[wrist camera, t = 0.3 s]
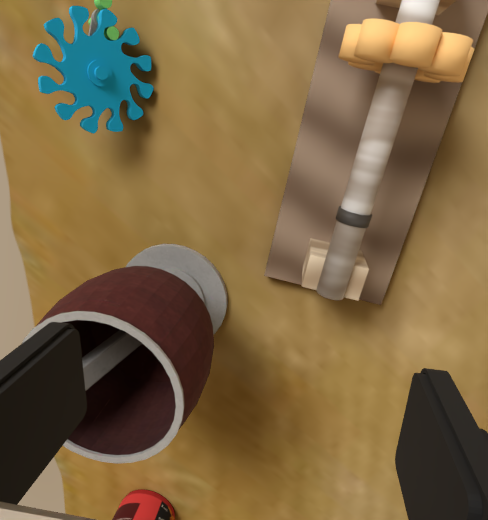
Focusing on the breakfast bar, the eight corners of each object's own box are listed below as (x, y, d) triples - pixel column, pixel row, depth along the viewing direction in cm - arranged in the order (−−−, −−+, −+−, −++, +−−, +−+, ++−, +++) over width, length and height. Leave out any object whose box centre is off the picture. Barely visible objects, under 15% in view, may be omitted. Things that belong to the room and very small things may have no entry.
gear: (144, 147, 38) (27, 116, 32) (121, 139, 42) (15, 111, 36) (170, 23, 36) (49, -38, 29) (143, 28, 40) (33, -24, 34)
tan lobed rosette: (341, 38, 32) (352, 9, 24) (451, 60, 32) (501, 38, 23) (334, 65, 33) (342, 46, 25) (442, 87, 32) (487, 75, 24)
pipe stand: (348, -73, 32) (360, -133, 24) (503, -46, 31) (564, -99, 23) (265, 271, 42) (255, 303, 35) (379, 300, 41) (394, 338, 34)
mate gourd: (210, 221, 41) (126, 303, 22) (251, 337, 45) (208, 491, 26) (83, 258, 45) (-79, 355, 26) (131, 363, 49) (18, 513, 30)
